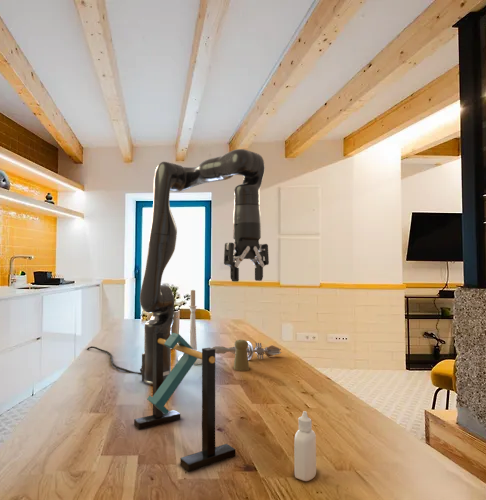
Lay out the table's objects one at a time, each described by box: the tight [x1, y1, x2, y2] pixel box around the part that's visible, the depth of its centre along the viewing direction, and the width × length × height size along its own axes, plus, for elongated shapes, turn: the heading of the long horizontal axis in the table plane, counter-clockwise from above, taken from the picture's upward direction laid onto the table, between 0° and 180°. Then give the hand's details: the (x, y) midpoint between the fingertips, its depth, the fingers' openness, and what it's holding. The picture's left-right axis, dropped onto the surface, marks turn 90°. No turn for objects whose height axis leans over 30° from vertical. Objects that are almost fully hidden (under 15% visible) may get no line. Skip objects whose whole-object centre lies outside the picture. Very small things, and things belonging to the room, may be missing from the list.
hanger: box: [146, 332, 198, 415], centre depth 86 cm, size 10×4×15 cm
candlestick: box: [177, 289, 202, 365], centre depth 160 cm, size 13×13×30 cm
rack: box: [133, 331, 237, 473], centre depth 88 cm, size 12×25×23 cm, turn 31°
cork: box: [233, 339, 250, 372], centre depth 147 cm, size 6×6×11 cm
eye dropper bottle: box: [293, 410, 317, 482], centre depth 73 cm, size 4×6×12 cm
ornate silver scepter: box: [212, 340, 282, 361], centre depth 160 cm, size 8×35×8 cm
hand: (247, 281), depth 103 cm, fingers open, 8 cm apart
